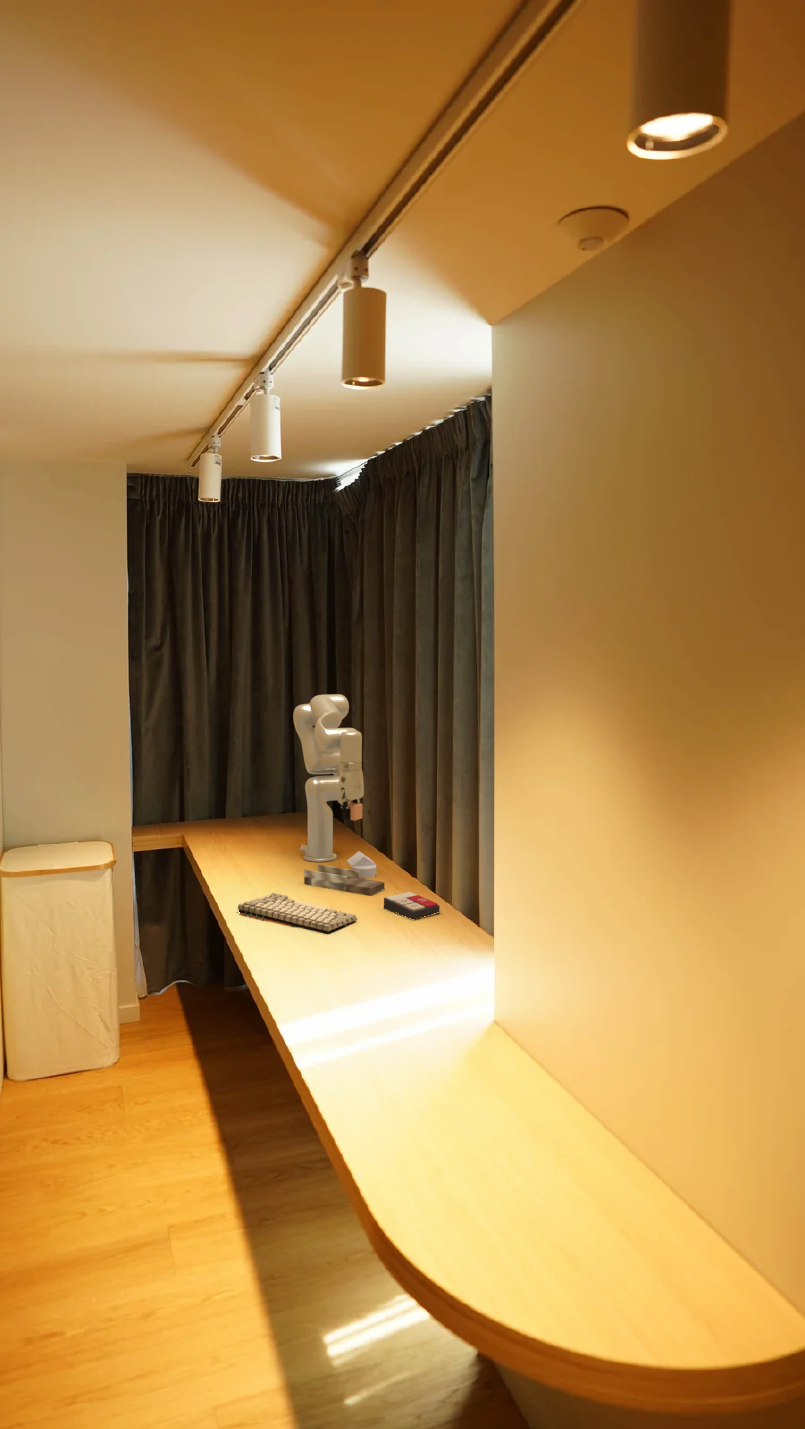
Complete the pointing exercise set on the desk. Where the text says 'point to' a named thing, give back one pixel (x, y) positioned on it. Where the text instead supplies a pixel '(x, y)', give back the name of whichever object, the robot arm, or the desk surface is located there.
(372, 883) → the open channel deck
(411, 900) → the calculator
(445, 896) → the desk surface
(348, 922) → the mechanical keyboard
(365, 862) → the wedge on round base
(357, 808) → the block
